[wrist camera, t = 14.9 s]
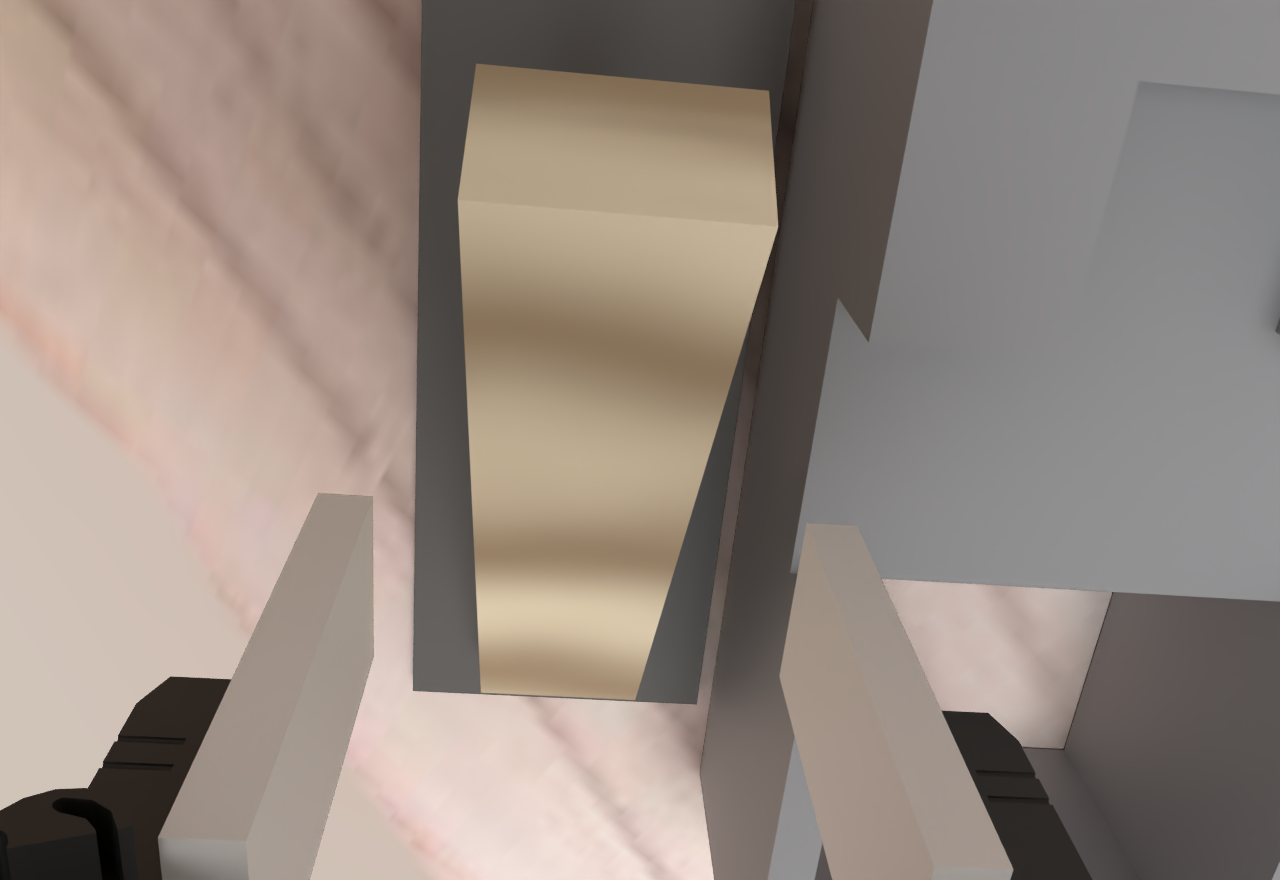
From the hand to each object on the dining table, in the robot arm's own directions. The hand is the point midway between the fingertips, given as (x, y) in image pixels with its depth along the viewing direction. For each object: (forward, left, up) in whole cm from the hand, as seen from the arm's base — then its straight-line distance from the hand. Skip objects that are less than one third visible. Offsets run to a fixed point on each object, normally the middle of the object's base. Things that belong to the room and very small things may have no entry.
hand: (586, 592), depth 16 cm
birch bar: (+1, 0, -7) cm, 7 cm away
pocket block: (+3, +10, -12) cm, 17 cm away
